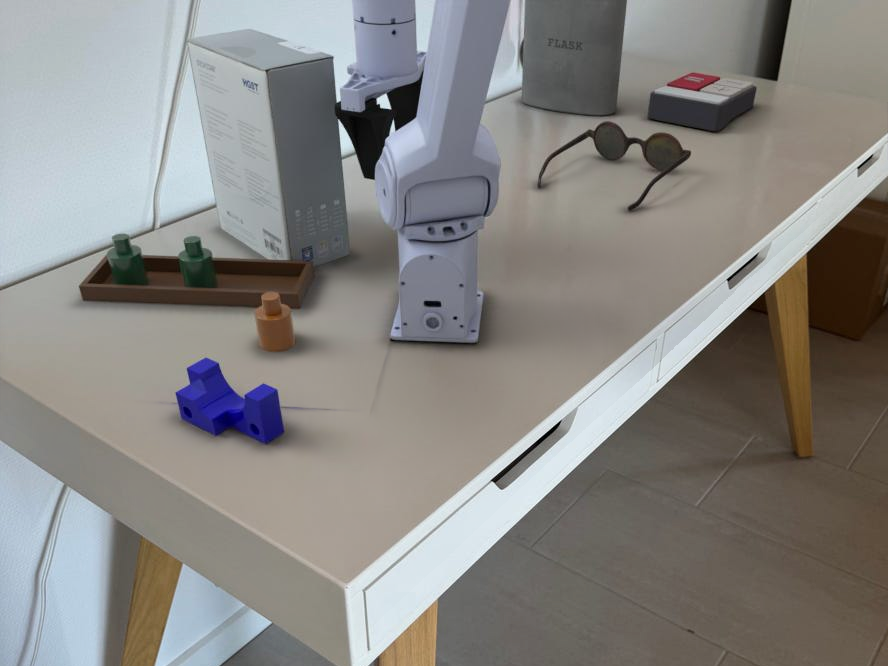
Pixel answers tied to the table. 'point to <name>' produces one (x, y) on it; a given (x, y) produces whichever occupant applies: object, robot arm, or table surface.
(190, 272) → the green bottle
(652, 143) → the eyeglasses
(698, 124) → the calculator
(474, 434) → the table surface
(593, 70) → the flask
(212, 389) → the cable holder
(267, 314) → the amber bottle
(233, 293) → the tray
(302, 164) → the hard drive box
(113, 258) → the green bottle
